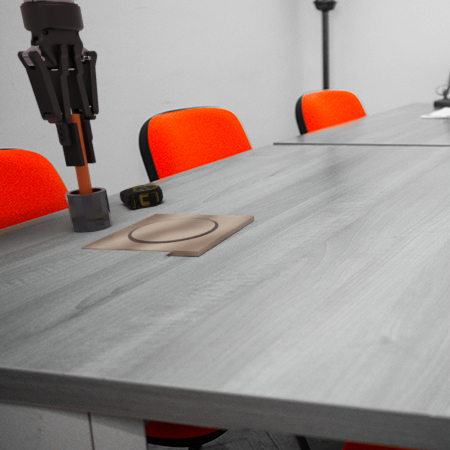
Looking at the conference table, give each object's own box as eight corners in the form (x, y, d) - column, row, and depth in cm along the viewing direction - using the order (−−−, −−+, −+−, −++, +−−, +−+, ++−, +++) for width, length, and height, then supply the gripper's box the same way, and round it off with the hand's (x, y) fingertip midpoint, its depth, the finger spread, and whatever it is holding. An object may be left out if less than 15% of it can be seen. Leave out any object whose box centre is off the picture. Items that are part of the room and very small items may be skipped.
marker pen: (79, 205, 90) (62, 114, 86) (87, 202, 91) (71, 113, 87) (89, 205, 89) (73, 114, 85) (97, 202, 91) (81, 113, 87)
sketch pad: (82, 252, 81) (80, 245, 81) (156, 218, 98) (155, 212, 98) (198, 256, 78) (197, 249, 77) (254, 220, 95) (253, 214, 94)
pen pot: (65, 235, 89) (56, 195, 87) (90, 225, 95) (83, 187, 93) (96, 236, 88) (88, 195, 86) (120, 226, 94) (113, 187, 92)
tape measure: (120, 207, 106) (117, 187, 105) (159, 200, 110) (156, 181, 109) (128, 214, 101) (125, 193, 100) (168, 207, 105) (165, 187, 104)
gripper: (31, -5, 74) (67, 174, 81) (107, 4, 88) (132, 156, 95) (-18, -1, 75) (22, 174, 82) (65, 7, 89) (93, 156, 96)
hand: (81, 164), depth 88 cm, fingers closed on marker pen, 2 cm apart
